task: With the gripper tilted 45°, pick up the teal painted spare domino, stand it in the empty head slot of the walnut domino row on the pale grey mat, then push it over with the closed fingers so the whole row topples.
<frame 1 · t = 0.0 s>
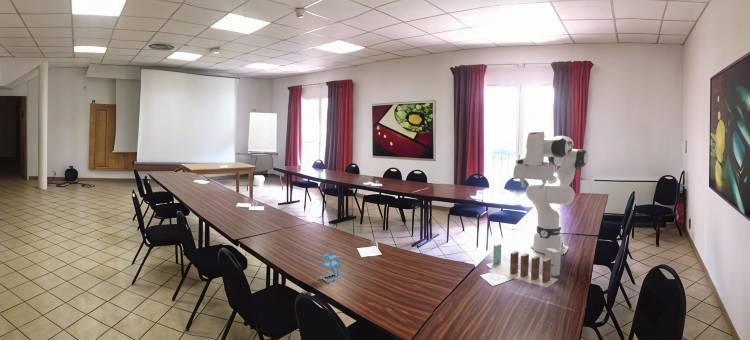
hand: (532, 188, 193), 39 cm above the table, tool pointing down, fingers open, 8 cm apart
domino 4: (546, 281, 166), point 1 cm above the table, touching row mat
skincare box: (551, 275, 176), on the table
row mat: (522, 276, 174), on the table
spare domino: (497, 263, 192), on the table
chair: (331, 278, 174), on the table
domino 3: (535, 278, 170), point 1 cm above the table, touching row mat
domino 2: (524, 275, 174), point 1 cm above the table, touching row mat
domino 1: (514, 272, 177), point 1 cm above the table, touching row mat
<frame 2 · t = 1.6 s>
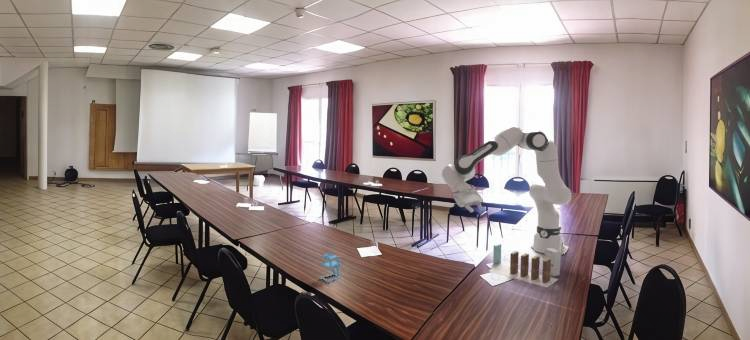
hand: (477, 210, 198), 26 cm above the table, tool tilted 45°, fingers open, 8 cm apart
nothing on the table moved.
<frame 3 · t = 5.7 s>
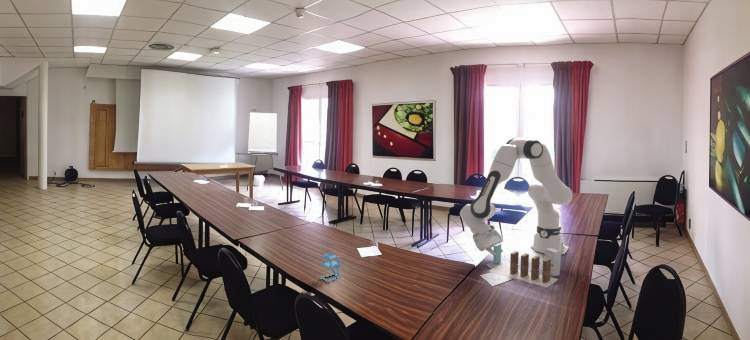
hand: (498, 253, 191), 5 cm above the table, tool tilted 45°, fingers closed on spare domino, 5 cm apart
spare domino: (497, 263, 192), on the table, touching gripper
everything else where it was.
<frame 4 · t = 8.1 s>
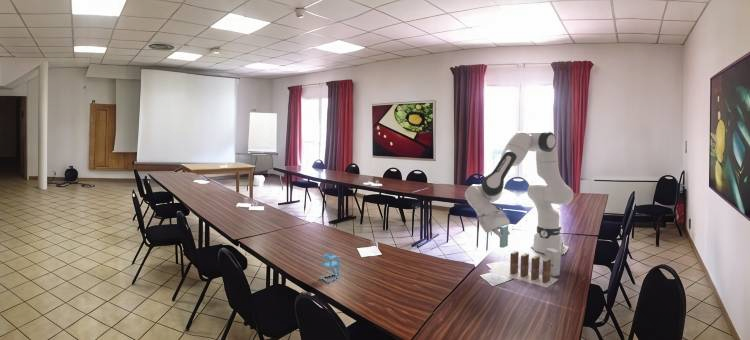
hand: (505, 235, 179), 18 cm above the table, tool tilted 45°, fingers closed on spare domino, 5 cm apart
spare domino: (503, 246, 180), point 12 cm above the table, touching gripper
everything else where it was.
when the fingers open (7 cm above the table, at t = 10.6 s): spare domino stays where it is, resting on row mat.
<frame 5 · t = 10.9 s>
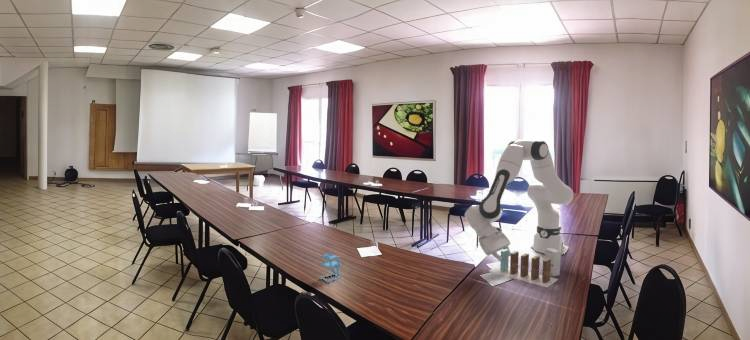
hand: (505, 257, 180), 7 cm above the table, tool tilted 45°, fingers open, 8 cm apart
spare domino: (504, 270, 181), point 1 cm above the table, touching row mat
everything else where it was.
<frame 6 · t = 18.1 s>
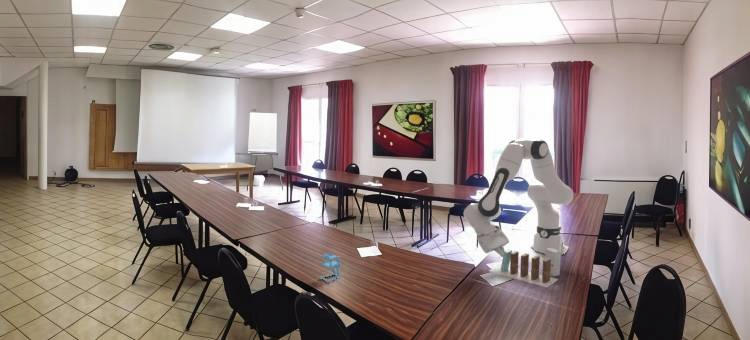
hand: (504, 255, 180), 8 cm above the table, tool tilted 45°, fingers closed
spare domino: (504, 269, 181), point 1 cm above the table, tilted 10°, touching row mat
everything else where it was.
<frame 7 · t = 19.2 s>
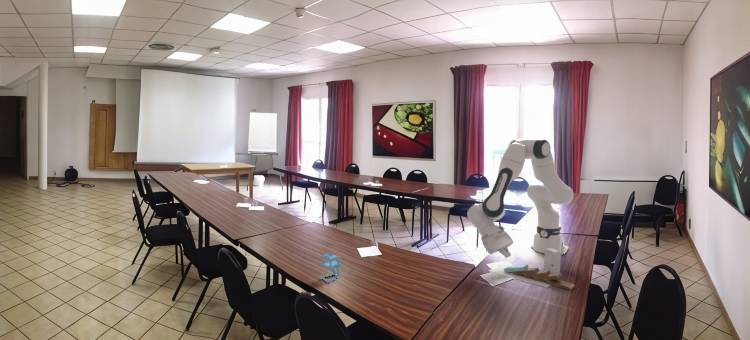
hand: (508, 256, 179), 8 cm above the table, tool tilted 45°, fingers closed
domino 4: (548, 280, 166), point 2 cm above the table, tilted 94°, touching domino 3, row mat
spare domino: (506, 269, 180), point 1 cm above the table, tilted 71°, touching domino 1, row mat
domino 3: (537, 277, 169), point 1 cm above the table, tilted 70°, touching domino 2, domino 4
domino 2: (526, 274, 173), point 1 cm above the table, tilted 71°, touching domino 1, domino 3, row mat
domino 1: (516, 271, 176), point 1 cm above the table, tilted 71°, touching domino 2, row mat, spare domino
everything else where it was.
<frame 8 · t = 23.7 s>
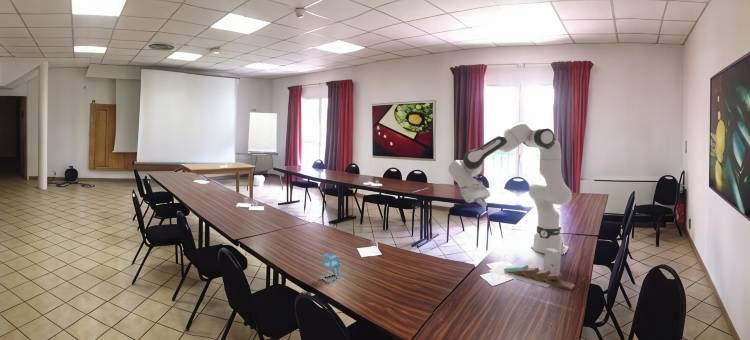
hand: (485, 206, 195), 29 cm above the table, tool tilted 45°, fingers closed
nothing on the table moved.
at the end: domino 4 tilted 94°; spare domino inside the target area (0.9 cm from its centre), point 1.4 cm above the table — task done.
